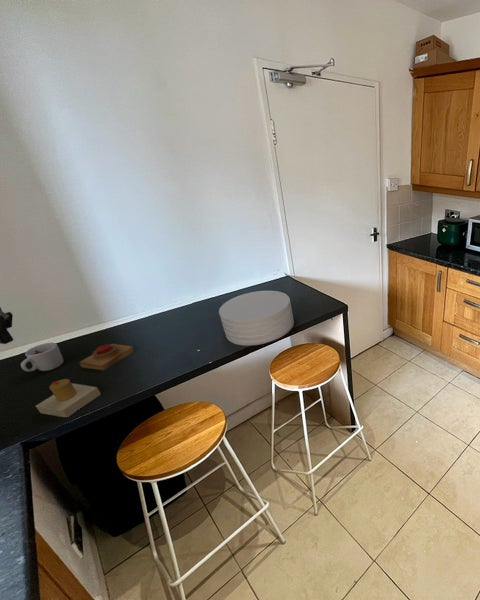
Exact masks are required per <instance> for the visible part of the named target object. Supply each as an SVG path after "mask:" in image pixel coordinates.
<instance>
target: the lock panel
mask: <svg viewBox="0 0 480 600" xmlns="http://www.w3.org/2000/svg"><path fill="white" fill-rule="evenodd" d="M71 384H72V385H73V387H74V388H75V390H76V392H77V394H76V395H75V396H74V397H72V398H70V399H68V400H65V401H58V400H57V399H56V397H55V396H54V394H52V395H50V396H49V397H48V398H46V399H44V400H43V401H41V402H39V403H38V404H36V405H35V407H36V409H37V410H38V412H39V413H40V414H43V415H49V416H56V417H60V418H65V417H66V419H68V418H69V417H70V416H72V415H73V414H74V413H76V412H78V411H79V410H81V409H82V408H84V406H86V405H88V404H89V403H91V402H92V401H93V400H95V399H97V398H98V397H99V396H101V394H102V393H101V391H100V390H99V388H98V386H93V385H92V386H91V385H87V384H79V383H72V382H71ZM80 408H81V409H80ZM77 410H78V411H77ZM67 417H68V418H67Z"/></svg>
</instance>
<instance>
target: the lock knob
mask: <svg viewBox="0 0 480 600" xmlns="http://www.w3.org/2000/svg"><path fill="white" fill-rule="evenodd" d="M49 390H50V391H51V393H52V395H54V396H55V397H56V399H57V400H58V401H65V400H68V399H70V398H72V397H74V396H75V395H76V394H77V392H76V390H75V388H74V387H73V385H72V382H71V380H70V379H69V378H63V379H62V378H61V379H59V380H57V381H52V383H51V384H50V385H49Z"/></svg>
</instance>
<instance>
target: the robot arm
mask: <svg viewBox="0 0 480 600" xmlns="http://www.w3.org/2000/svg"><path fill="white" fill-rule="evenodd" d="M13 317H14V316H13V313H12V312H10V311H8V312H5V311H3V309H2V307H1V306H0V345H7V344H9V343H11V342H13V341H14V338H13V336H12V334H11V333H10V332H9V330H8V329H11V328H12V327H13Z"/></svg>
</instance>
